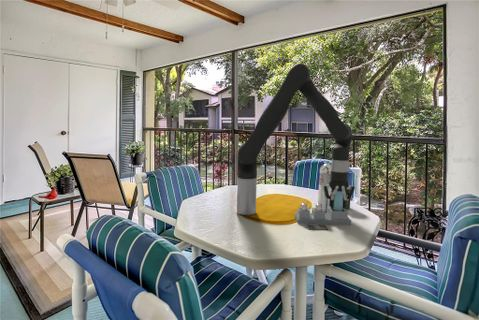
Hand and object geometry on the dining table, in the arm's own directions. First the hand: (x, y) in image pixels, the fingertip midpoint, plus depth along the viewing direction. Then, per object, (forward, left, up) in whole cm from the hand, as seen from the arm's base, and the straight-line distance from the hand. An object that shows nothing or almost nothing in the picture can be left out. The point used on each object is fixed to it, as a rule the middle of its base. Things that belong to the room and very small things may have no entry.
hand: (337, 207), depth 134 cm
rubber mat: (-10, -8, -6) cm, 15 cm away
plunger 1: (-15, -1, -3) cm, 15 cm away
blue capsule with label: (0, 0, -4) cm, 4 cm away
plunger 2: (-9, -1, -3) cm, 9 cm away
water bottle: (-1, +16, -6) cm, 17 cm away
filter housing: (-6, 0, -6) cm, 9 cm away
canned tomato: (+9, +21, -7) cm, 23 cm away
